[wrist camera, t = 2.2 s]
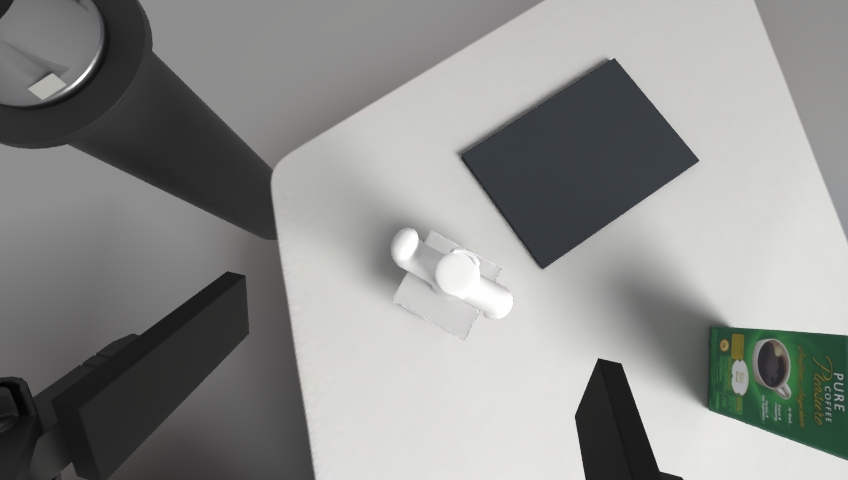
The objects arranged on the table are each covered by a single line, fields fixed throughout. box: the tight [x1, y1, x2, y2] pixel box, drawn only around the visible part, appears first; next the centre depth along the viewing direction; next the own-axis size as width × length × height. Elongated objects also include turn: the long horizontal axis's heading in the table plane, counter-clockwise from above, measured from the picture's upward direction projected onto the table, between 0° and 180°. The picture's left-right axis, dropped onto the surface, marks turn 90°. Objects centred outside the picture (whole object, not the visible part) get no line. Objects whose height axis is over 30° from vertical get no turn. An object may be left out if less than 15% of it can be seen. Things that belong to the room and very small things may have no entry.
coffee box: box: [709, 326, 848, 460], centre depth 32 cm, size 8×3×13 cm, turn 171°
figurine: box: [390, 228, 513, 341], centre depth 32 cm, size 7×9×15 cm
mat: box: [462, 58, 699, 269], centre depth 42 cm, size 20×14×1 cm
